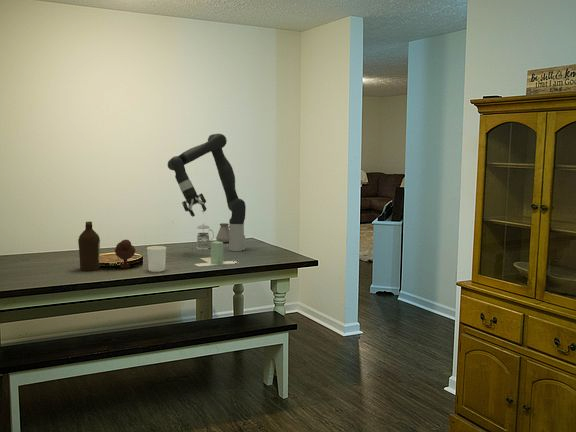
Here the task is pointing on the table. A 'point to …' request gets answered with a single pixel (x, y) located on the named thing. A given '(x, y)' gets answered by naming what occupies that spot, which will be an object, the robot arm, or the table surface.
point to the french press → (203, 237)
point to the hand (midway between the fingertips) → (199, 213)
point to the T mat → (213, 264)
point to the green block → (216, 253)
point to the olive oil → (89, 249)
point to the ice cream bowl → (125, 252)
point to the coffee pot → (223, 233)
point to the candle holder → (156, 258)
